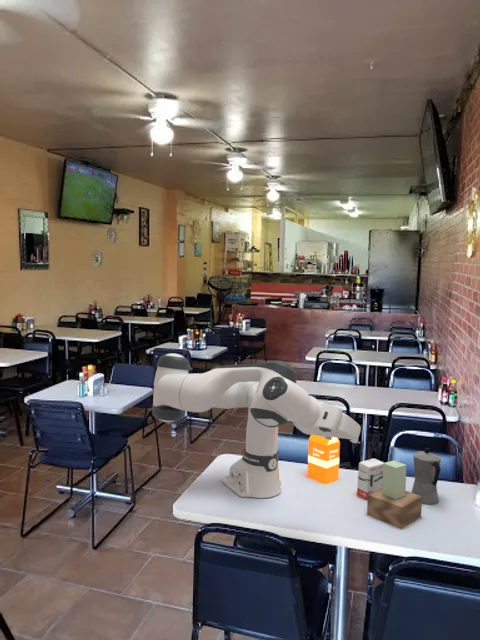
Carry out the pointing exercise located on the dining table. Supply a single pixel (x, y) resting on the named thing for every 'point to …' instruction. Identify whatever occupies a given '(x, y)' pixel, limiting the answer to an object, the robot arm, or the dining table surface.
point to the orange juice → (323, 459)
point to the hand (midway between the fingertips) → (342, 439)
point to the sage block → (394, 479)
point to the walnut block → (394, 508)
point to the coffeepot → (426, 476)
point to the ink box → (369, 477)
